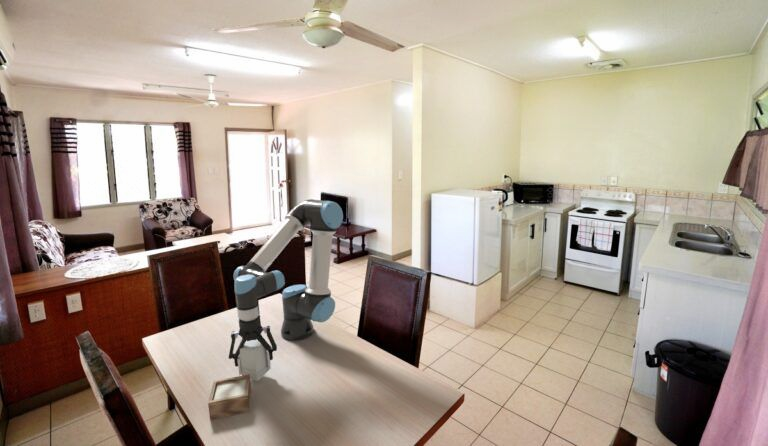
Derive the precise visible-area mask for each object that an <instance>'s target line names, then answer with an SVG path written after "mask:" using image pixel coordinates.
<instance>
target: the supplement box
mask: <svg viewBox="0 0 768 446" xmlns="http://www.w3.org/2000/svg"><path fill="white" fill-rule="evenodd" d="M239 358H240V365H241V372H242V374H241V376H243V375H249V374H250V381H256V382H258V381H259V380H261V379H262V378H263V377H264V376H265V375H266V374H267V373H268V372H269V371H270V369H269V368H268V359H267V350H266V349H265V348H264V346H263V345H262V344H261V343H260V342H259V341H258V340H257V339H256V340H251V341H246V342H245V344H244V346H243V348H241V349H240V354H239Z"/></svg>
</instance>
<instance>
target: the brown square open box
mask: <svg viewBox="0 0 768 446" xmlns="http://www.w3.org/2000/svg"><path fill="white" fill-rule="evenodd" d="M251 393H252V386H251V380H250V374H249V375H243V376H242V375H238V376H233V377H228V378H221V379H216V380H213V382H212V385H211V389H210V394H209V399H208V402H207V405H208V412H209V413H208V414H209V420H216V419H220V418H225V417H230V416H234V415H241V414H245V413H250V407H251V397H252V396H251Z"/></svg>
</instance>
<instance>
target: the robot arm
mask: <svg viewBox="0 0 768 446" xmlns="http://www.w3.org/2000/svg"><path fill="white" fill-rule="evenodd" d="M343 219H344V213H343V210H342V207H341V206H340V205H339V204H338V203H337V202H335V201H331V200H321V199H320V200H319V199H305V200H303V201H301V202H300V203H298V204H296V205H294V207H293V208H292V209H290V211H288V212H287V214H286V215H285V217H284V221H283V222H282V223H281V224H280V225H279V226H278V228H277V229H276V230H275V231H274V232H273V234H272V235H271V236H270V237H269V238H268V239H267V240H266V241H265V243H264V244H263V245H262V246H261V247H260V249H258V251H257V252H256V253H255V254H254V256H253V257H252V258H251V259H250V260H249V261H248V262H247V264H246V265H241V266H238V267H237V268H236V269H235V270H234V271H233V280H234V283H233V284H234V285H233V286H234V291H233V292H234V294H235V303H236V311H237V318H238V327H239V330H238V331H235V330H233V331H231V334H230V338H231V343H230V347H229V348H230V349H229V353H228V359H229V360H231V359H232V360H233V361H234V366H235V367H238V374H239V375H238V376H242V372H241V365H240V358H239V354H240V349H241V348H243V346H244V344H245V343H246V342H247V341H251V340H258V341H259V342H260V343H261V344H262V345H263V346H264V348H265V349H266V350H267V359H268V368H269V370H271V368H272V367H271V366H272V365H271V363H272V362H271V361H273V359H274V354H273V352H276V351H278V348H277V347H278V345H277V344H276V341H275V339H274V337H273V334H272V332H271V326H270V325H267V326H264V327H263V326H262V322H261V315H260V312H261V311H260V304H259V303H260V302H259V299H260V298H262V297H264V296H267V295H270V294H272V293H274V292H276V291H279V290H280V289H283V287H284V286H285V284H286V282H285V281H286V280H285V276H284V274H283V272H281V271H280V270H277V269H276V270H272V271H270V272H267V270H268V268H269V267H270V266H271V265H272V264H273V262H274V261H275V259H277V258H278V256H279V255H280V254H281V253H282V251H283V250H284V249H285V248H286V246H287V245H288V244H289V243H290V242H291V240H292V239H293V238H294V236H296V234H297V233H298V232H299V231H303V229H305V227H307V226H309V225H310V228H309V230H310V231H311V233H312V242H311V243H312V245H311V253H310V254H311V255H310V266H309V267H310V268H309V279H308V280H309V281H308V286H307V285H306V284H293V285H290V286H288V287H286V288H284V289H283V290H282V292H281V293H282V295H281V296H282V297H281V299H282V310H283V313H282V314H283V322H282V325H281V329H280V336H281V337H282V338H283V339H285V340H287V341H301V340H304V339H306V338H309V337H310V336H311V335H313V333H314V325H313V322H317V323H325V322H326V321H329V319H331V317H332V315H333V314H334V312H335V309H336V301H335V300H334V298H333V297H332V296H331V295H332V294H331V293H332V290H331V289H330V288H329V279H330V268H331V255H332V246H333V245H332V244H333V235H334V234H336V233H337V228H340V226H341V225H342V223H343ZM263 332H264V334H266V337H267V338H268V341H269V342H268V341H267V340H266V339H265V338H264V336H263V335H262V333H263ZM238 336H240V338H241V341H240V343H239V345H238V346H237V349H236V350H235V349H234V348H235V344H236V339H238ZM269 343H270V344H269ZM234 350H235V353H234Z"/></svg>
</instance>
